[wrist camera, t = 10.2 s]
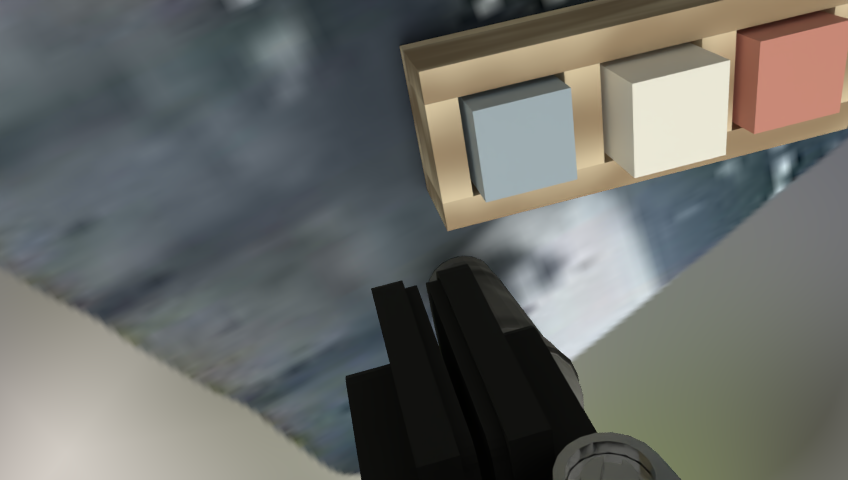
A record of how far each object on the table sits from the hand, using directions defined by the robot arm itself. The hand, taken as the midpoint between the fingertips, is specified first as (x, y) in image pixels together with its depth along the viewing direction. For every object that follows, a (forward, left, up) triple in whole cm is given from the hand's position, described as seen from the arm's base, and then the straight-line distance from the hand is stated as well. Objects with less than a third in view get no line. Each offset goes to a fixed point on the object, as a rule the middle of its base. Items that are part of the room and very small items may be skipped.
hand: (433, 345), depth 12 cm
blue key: (+7, +9, -26) cm, 28 cm away
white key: (+7, +16, -25) cm, 30 cm away
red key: (+7, +23, -26) cm, 36 cm away
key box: (+7, +16, -29) cm, 34 cm away
